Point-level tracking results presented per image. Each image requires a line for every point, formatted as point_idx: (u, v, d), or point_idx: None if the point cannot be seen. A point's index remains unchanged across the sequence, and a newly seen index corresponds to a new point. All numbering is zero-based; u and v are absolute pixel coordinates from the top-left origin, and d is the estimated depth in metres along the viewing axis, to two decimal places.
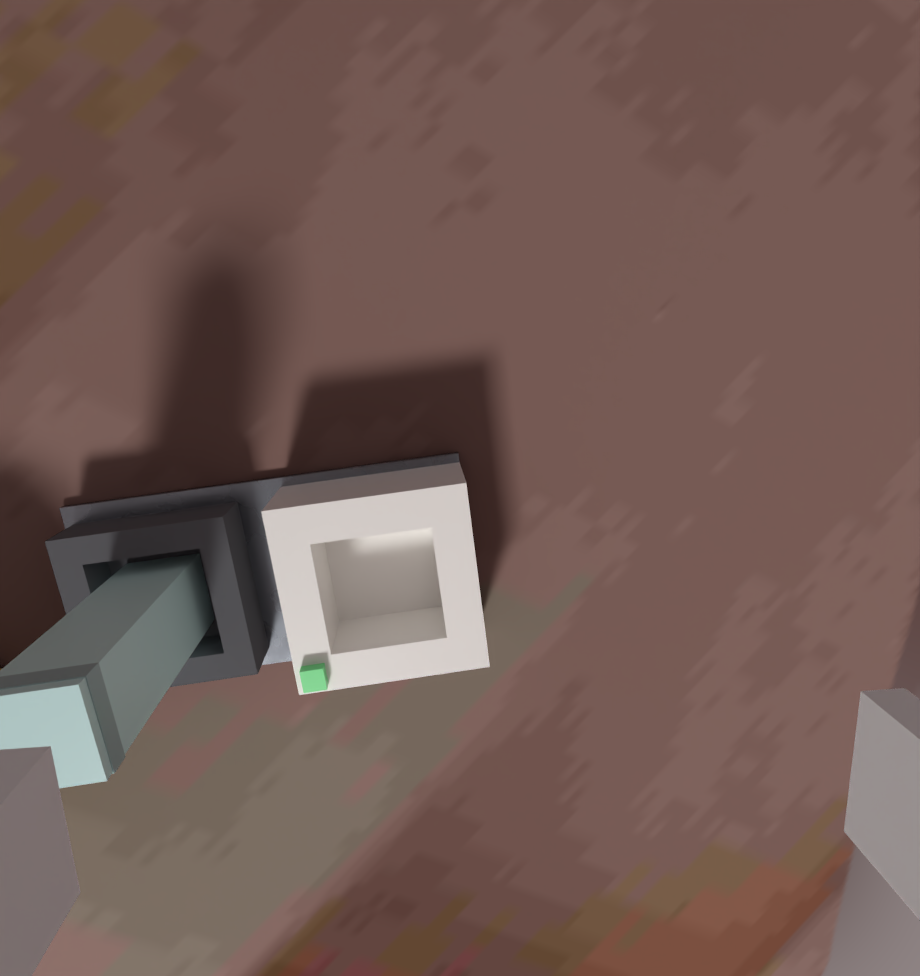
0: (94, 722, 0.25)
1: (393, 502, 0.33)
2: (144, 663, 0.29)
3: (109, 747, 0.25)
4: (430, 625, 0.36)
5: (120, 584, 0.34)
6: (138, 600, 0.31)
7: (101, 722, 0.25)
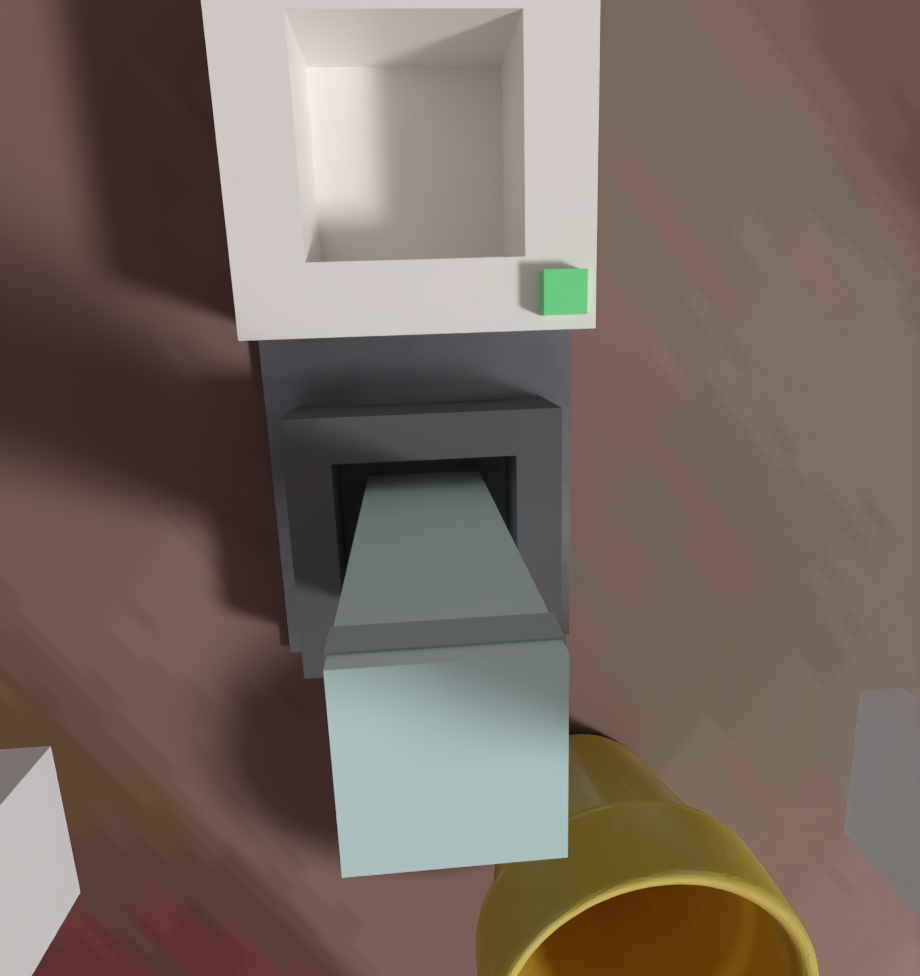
0: (429, 654, 0.11)
1: (228, 83, 0.17)
2: (428, 558, 0.16)
3: (505, 636, 0.12)
4: (513, 68, 0.19)
5: None
6: None
7: (442, 642, 0.12)
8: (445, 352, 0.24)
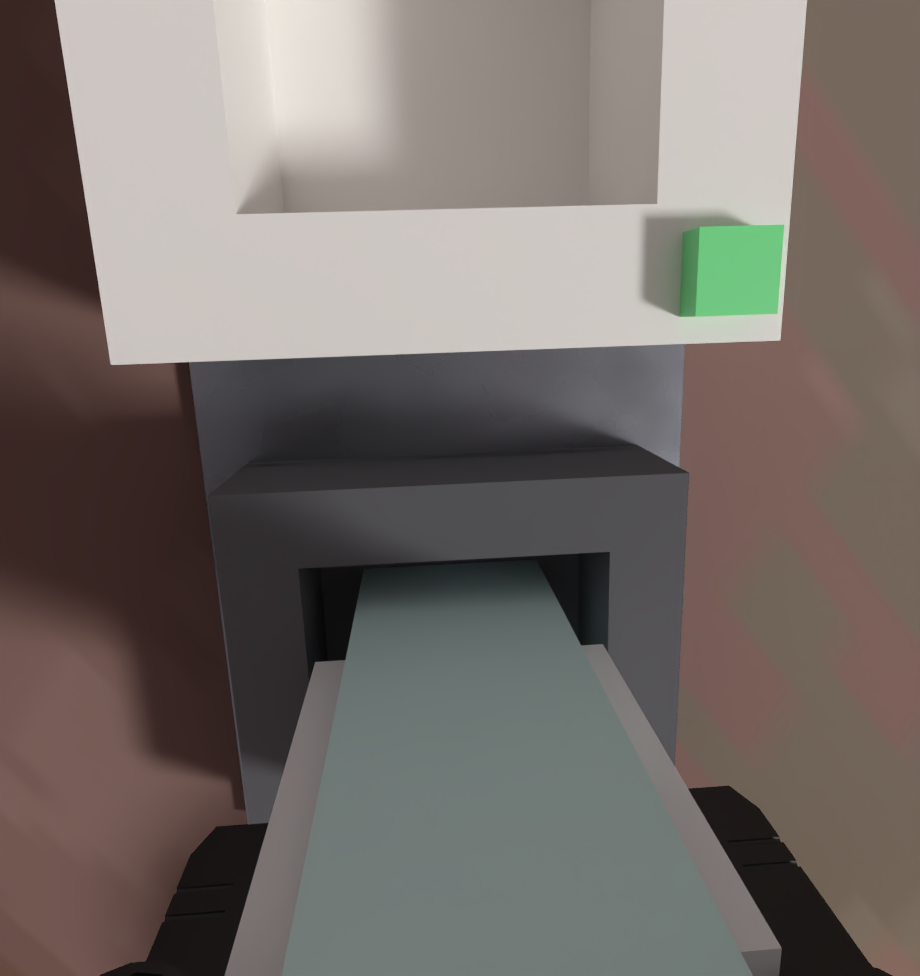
0: None
1: None
2: (484, 872, 0.07)
3: None
4: None
5: None
6: None
7: None
8: (487, 375, 0.15)
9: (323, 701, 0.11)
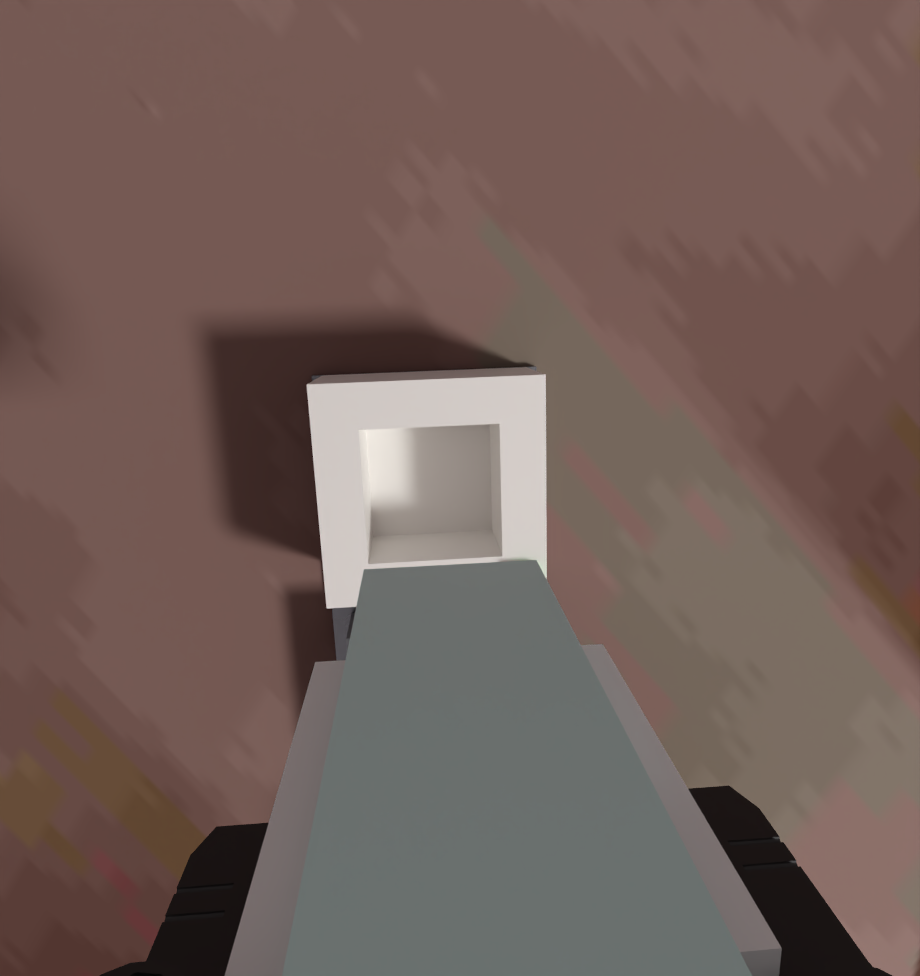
0: None
1: (325, 470, 0.29)
2: (485, 874, 0.07)
3: None
4: (495, 436, 0.31)
5: None
6: None
7: None
8: None
9: (323, 700, 0.11)
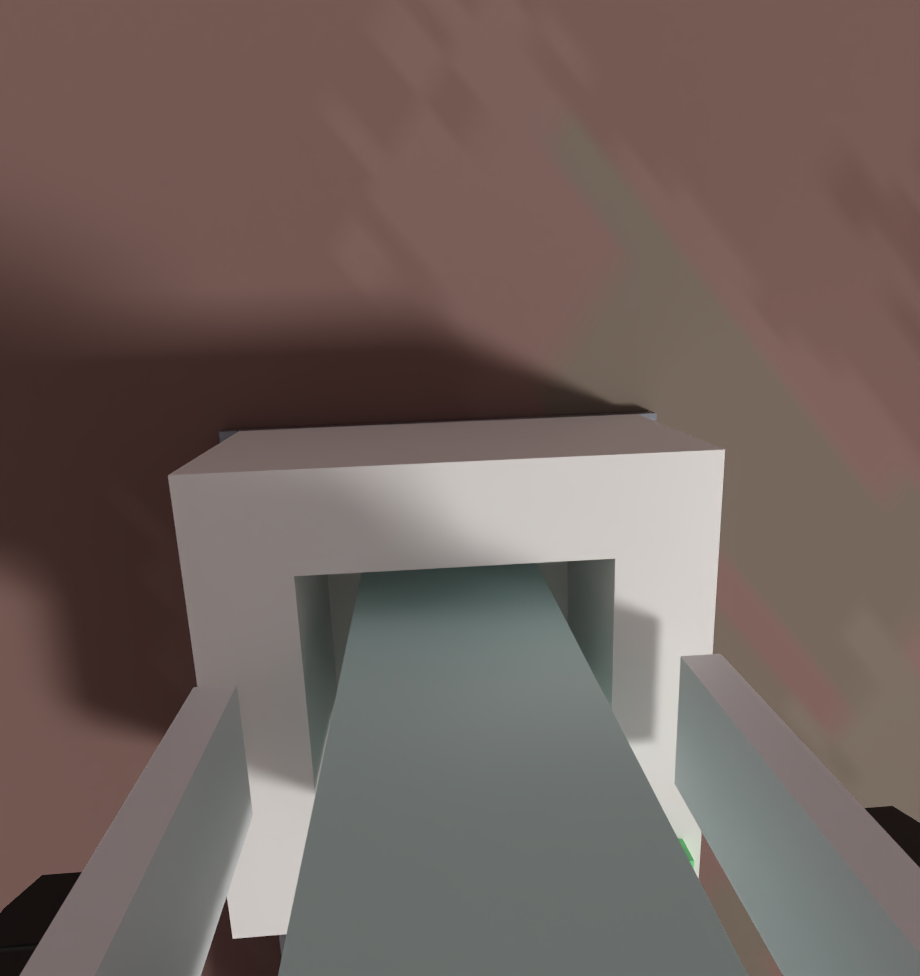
0: None
1: (219, 663, 0.13)
2: (472, 799, 0.08)
3: None
4: (591, 568, 0.15)
5: None
6: None
7: None
8: None
9: (187, 732, 0.11)
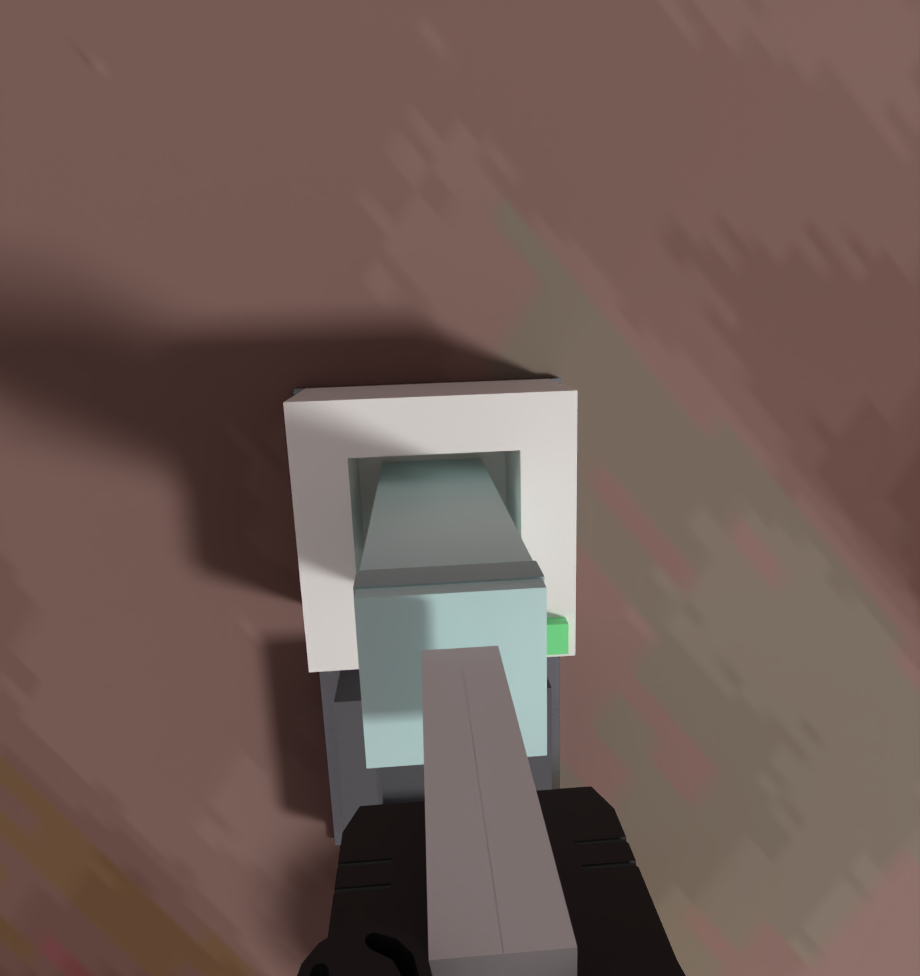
0: (436, 588, 0.14)
1: (306, 506, 0.24)
2: (436, 524, 0.19)
3: (497, 576, 0.15)
4: (513, 463, 0.25)
5: None
6: None
7: (446, 580, 0.15)
8: None
9: (441, 686, 0.12)
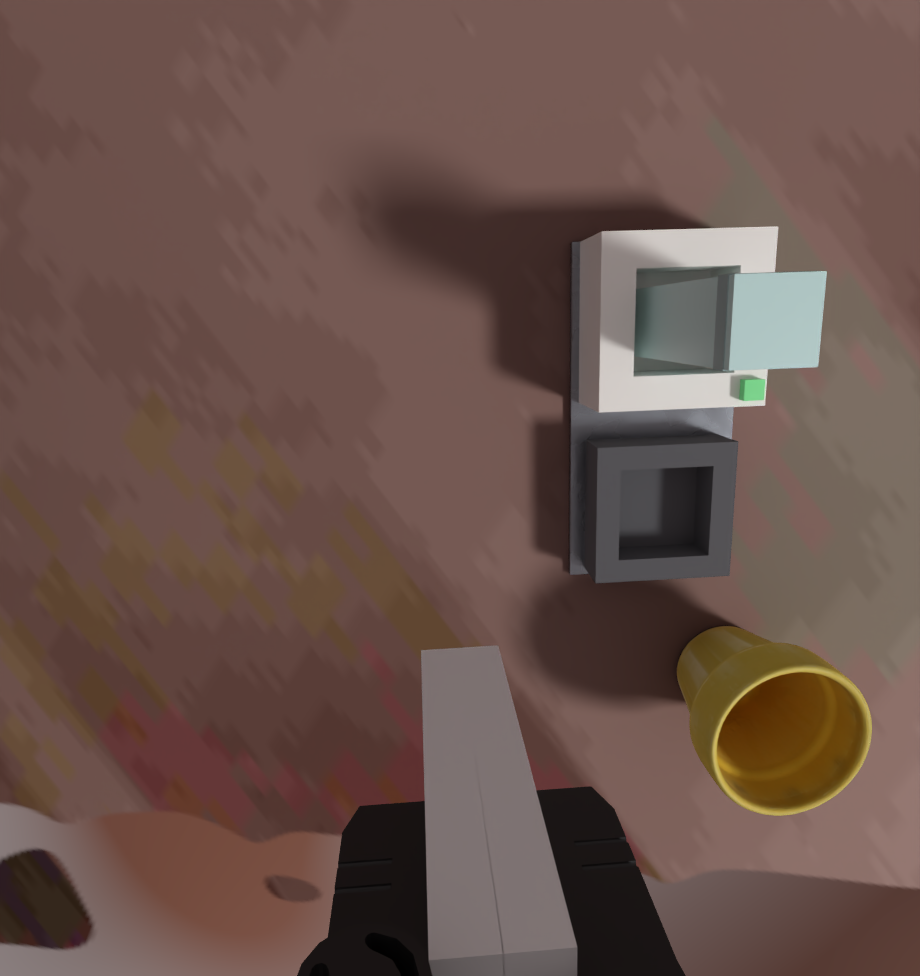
0: (771, 273, 0.29)
1: (609, 299, 0.38)
2: None
3: None
4: None
5: (648, 338, 0.39)
6: (666, 302, 0.36)
7: (772, 272, 0.29)
8: (667, 410, 0.45)
9: (441, 686, 0.12)
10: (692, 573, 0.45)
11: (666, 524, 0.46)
